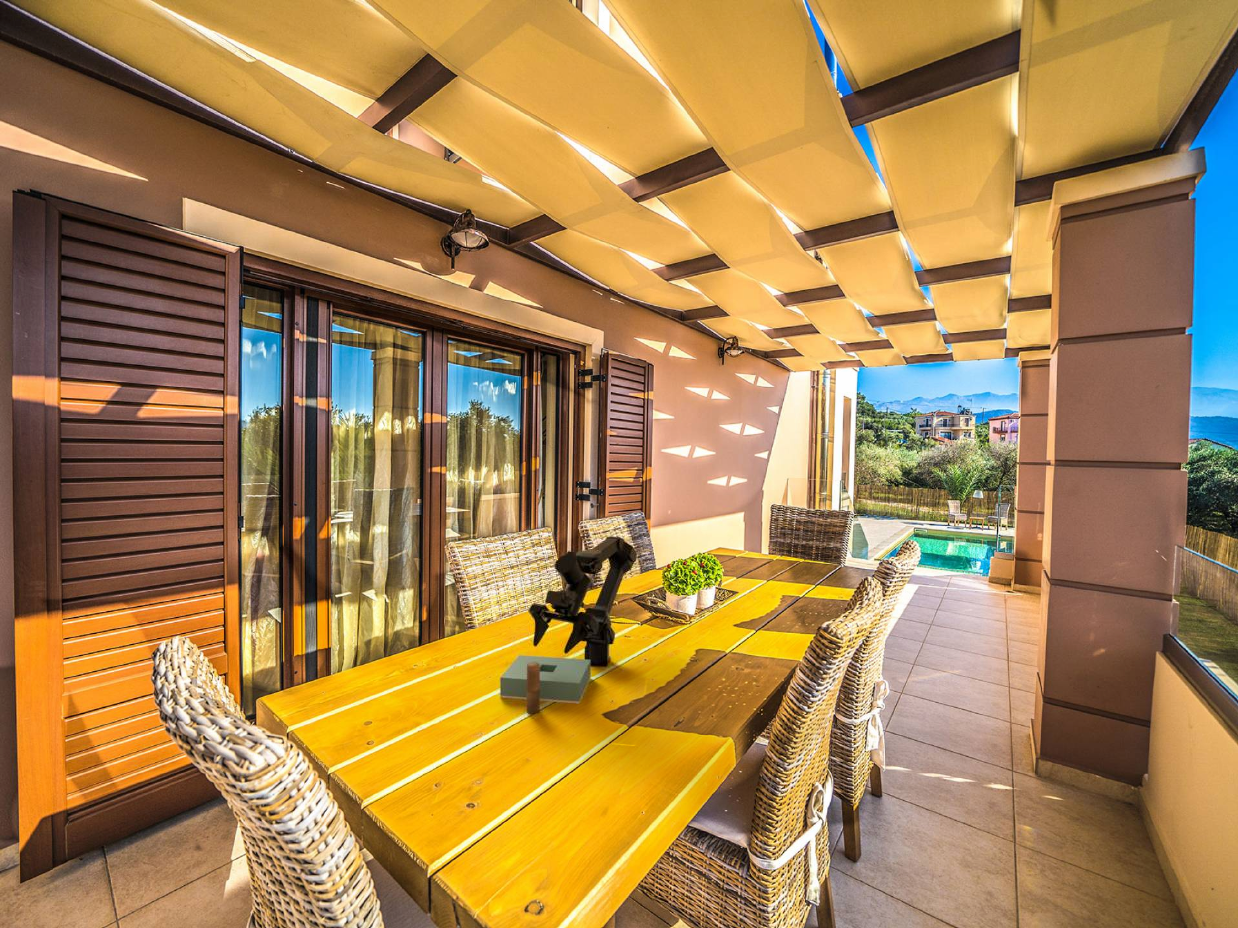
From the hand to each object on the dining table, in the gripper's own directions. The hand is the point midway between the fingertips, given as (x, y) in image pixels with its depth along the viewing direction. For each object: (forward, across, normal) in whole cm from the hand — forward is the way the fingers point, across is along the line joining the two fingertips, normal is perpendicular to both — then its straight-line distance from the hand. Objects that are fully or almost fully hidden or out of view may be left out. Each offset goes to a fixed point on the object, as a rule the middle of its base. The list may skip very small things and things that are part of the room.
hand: (549, 649), depth 124 cm
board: (+5, -4, +12) cm, 14 cm away
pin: (+13, 0, +4) cm, 14 cm away
